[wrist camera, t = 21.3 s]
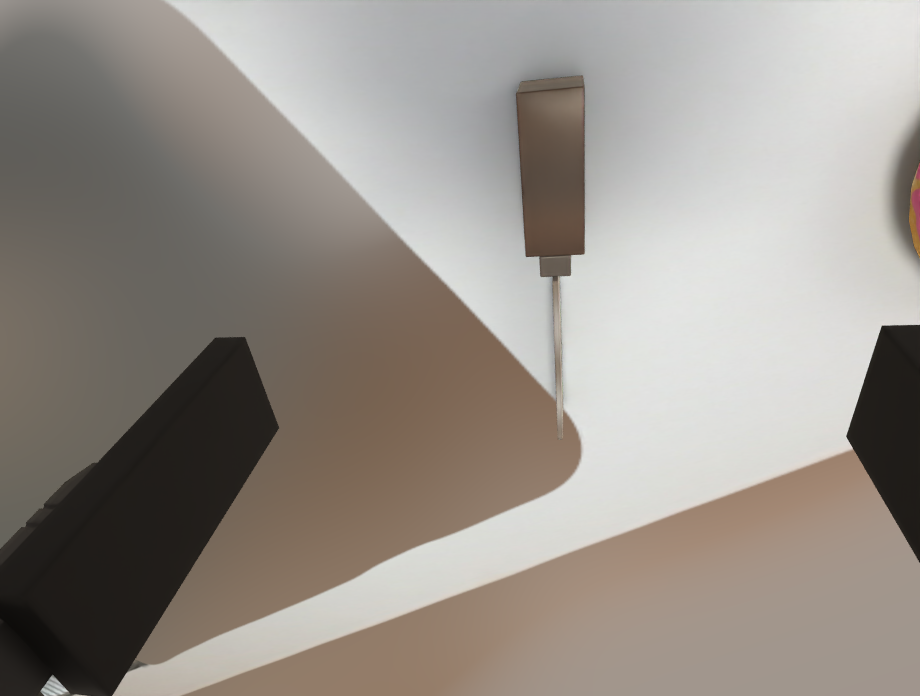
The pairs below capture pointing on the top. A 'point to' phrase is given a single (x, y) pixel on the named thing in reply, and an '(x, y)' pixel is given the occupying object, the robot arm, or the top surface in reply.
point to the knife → (553, 186)
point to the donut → (915, 211)
